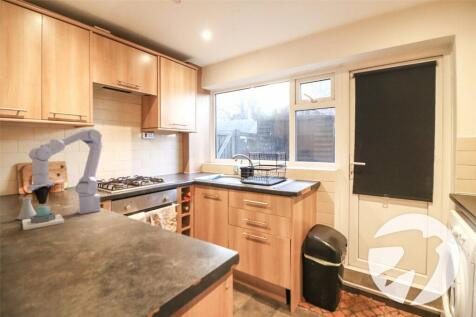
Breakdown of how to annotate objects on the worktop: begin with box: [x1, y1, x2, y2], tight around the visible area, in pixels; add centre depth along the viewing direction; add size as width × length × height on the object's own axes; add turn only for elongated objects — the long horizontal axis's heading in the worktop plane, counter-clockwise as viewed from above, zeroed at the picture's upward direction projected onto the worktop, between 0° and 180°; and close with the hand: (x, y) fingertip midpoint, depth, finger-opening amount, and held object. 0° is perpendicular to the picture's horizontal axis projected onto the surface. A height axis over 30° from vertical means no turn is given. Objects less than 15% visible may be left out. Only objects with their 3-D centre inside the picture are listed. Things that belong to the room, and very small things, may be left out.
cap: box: [35, 205, 51, 217], centre depth 111 cm, size 5×5×6 cm
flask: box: [16, 196, 36, 221], centre depth 118 cm, size 7×7×10 cm
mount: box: [22, 212, 65, 231], centre depth 111 cm, size 14×14×3 cm
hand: (42, 203), depth 110 cm, fingers closed
